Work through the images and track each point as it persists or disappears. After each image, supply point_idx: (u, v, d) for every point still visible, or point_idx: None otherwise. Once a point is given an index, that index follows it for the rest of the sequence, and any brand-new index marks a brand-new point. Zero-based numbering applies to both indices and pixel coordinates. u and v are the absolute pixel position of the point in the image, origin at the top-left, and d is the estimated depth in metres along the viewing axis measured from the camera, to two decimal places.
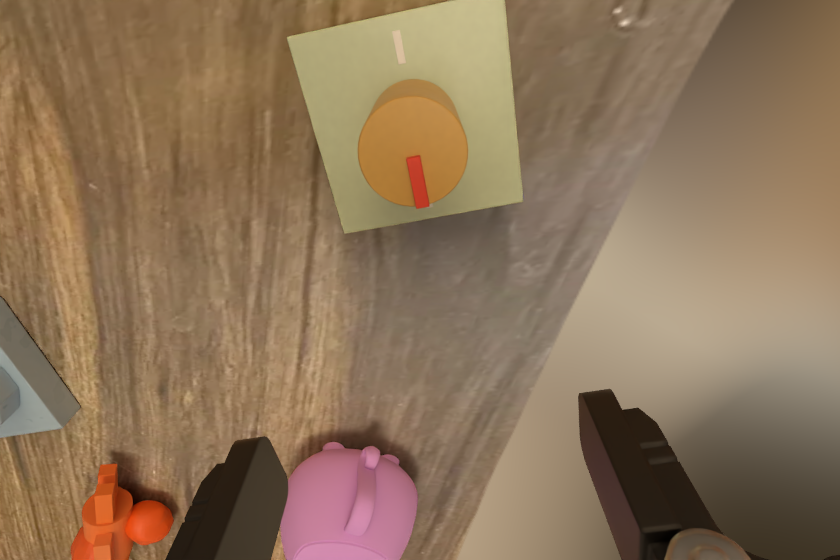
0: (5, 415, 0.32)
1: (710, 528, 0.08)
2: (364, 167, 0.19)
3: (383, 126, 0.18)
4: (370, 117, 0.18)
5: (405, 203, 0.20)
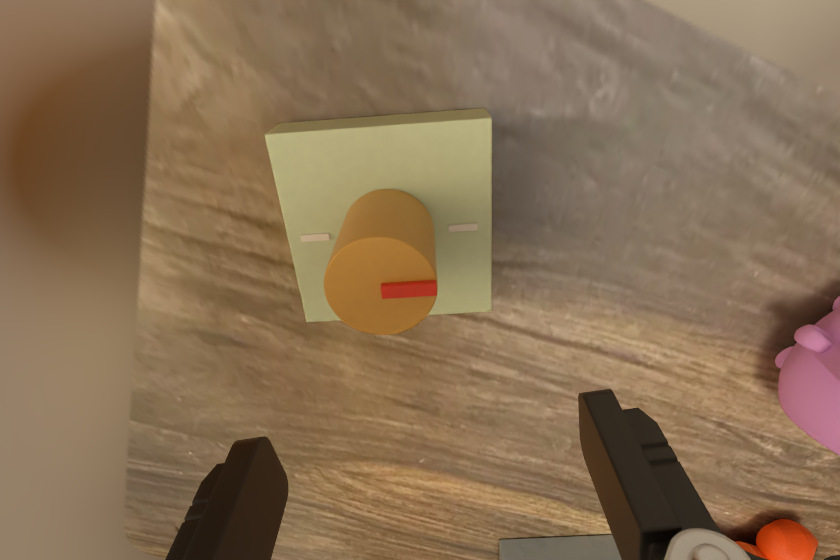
0: None
1: (710, 528, 0.08)
2: (389, 331, 0.19)
3: (351, 310, 0.19)
4: None
5: (431, 301, 0.19)
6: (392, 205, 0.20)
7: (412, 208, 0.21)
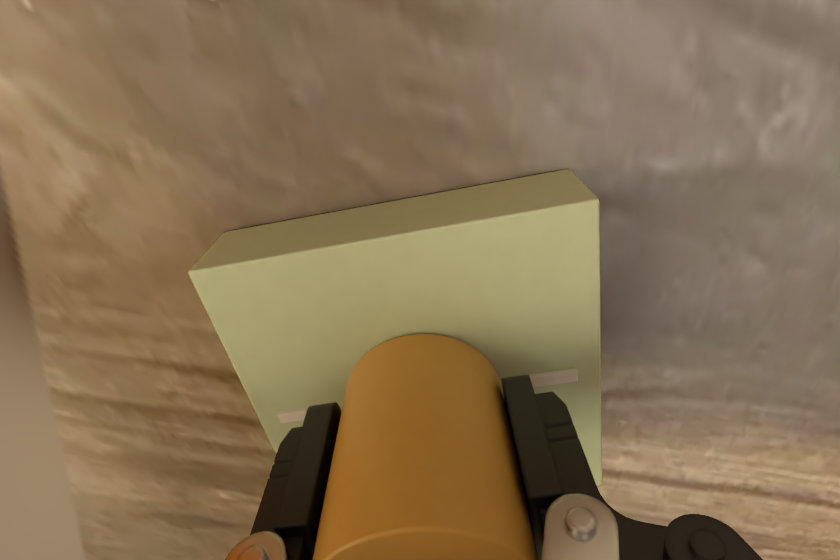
0: None
1: (593, 495, 0.09)
2: None
3: None
4: None
5: None
6: (428, 390, 0.11)
7: (465, 382, 0.11)
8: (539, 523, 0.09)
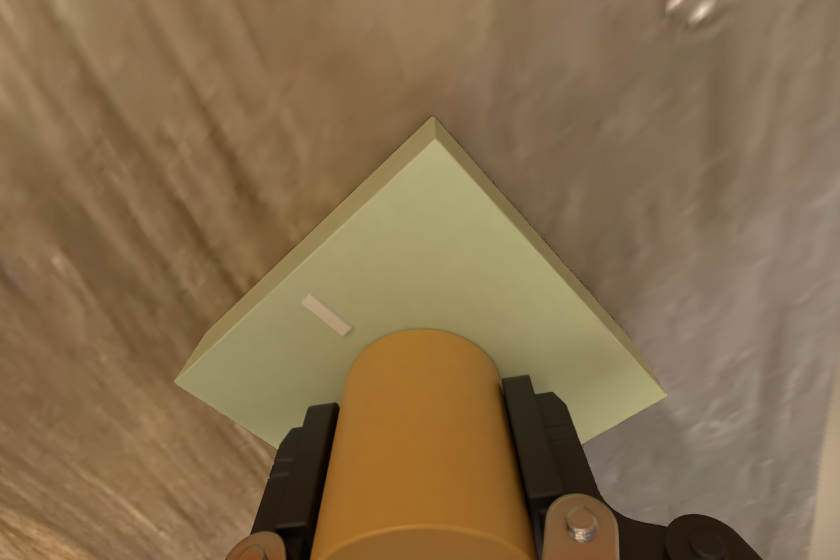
0: None
1: (593, 495, 0.09)
2: None
3: None
4: None
5: None
6: (422, 385, 0.11)
7: (460, 376, 0.11)
8: (539, 523, 0.09)
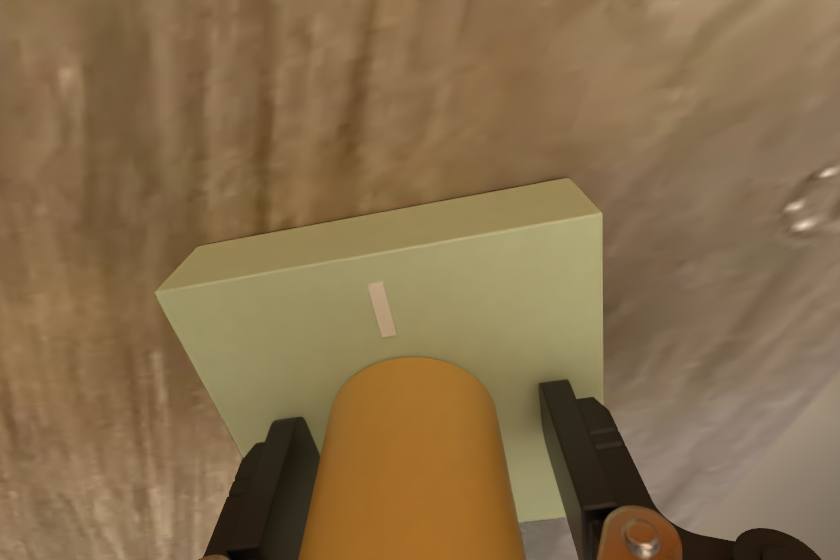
0: None
1: (648, 506, 0.09)
2: None
3: None
4: None
5: None
6: (406, 423, 0.10)
7: (448, 410, 0.10)
8: (590, 535, 0.09)
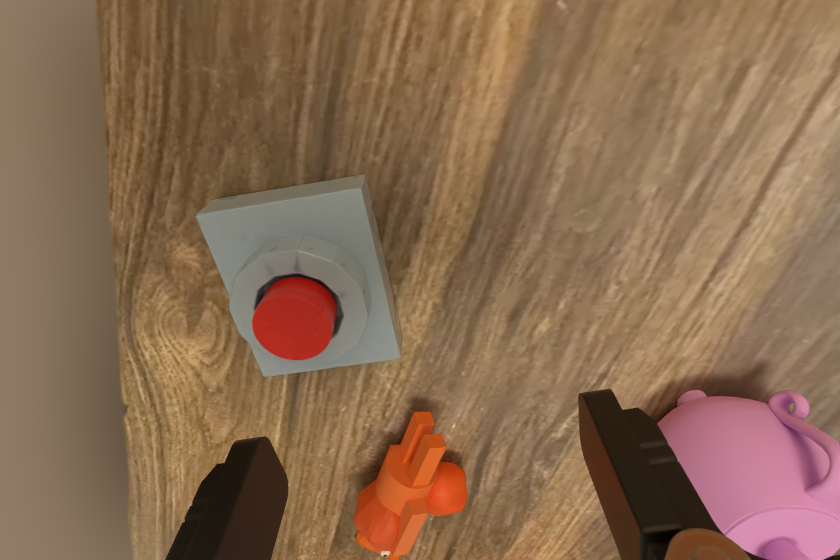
0: None
1: (710, 528, 0.08)
2: None
3: None
4: None
5: None
6: None
7: None
8: (648, 559, 0.08)
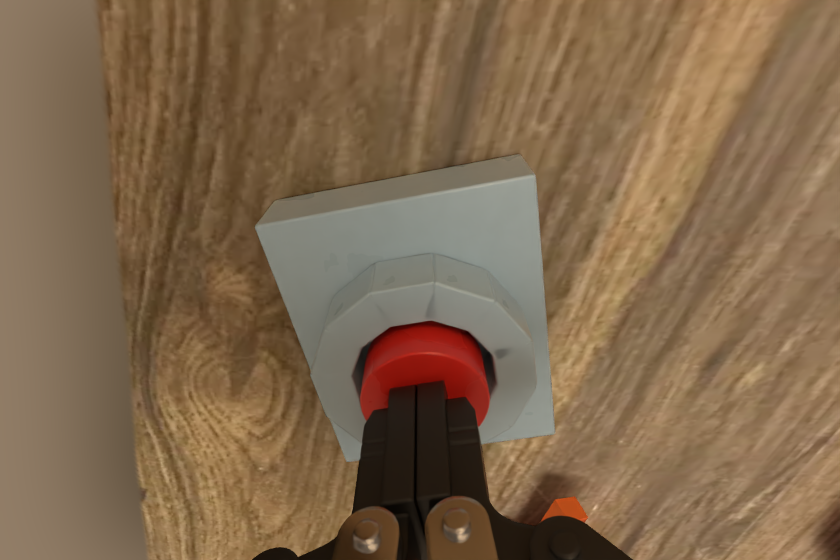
0: None
1: (481, 497, 0.10)
2: None
3: None
4: None
5: None
6: None
7: None
8: None
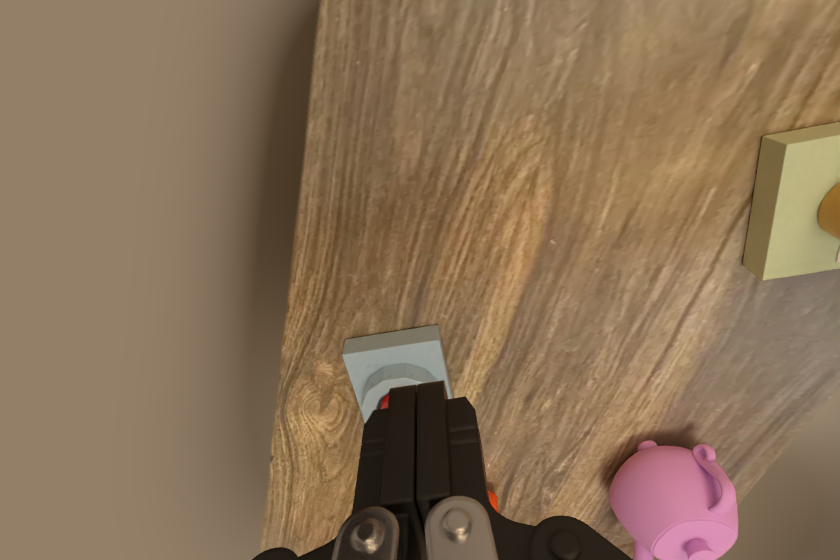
0: None
1: (481, 497, 0.10)
2: None
3: None
4: None
5: None
6: None
7: None
8: None
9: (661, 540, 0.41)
